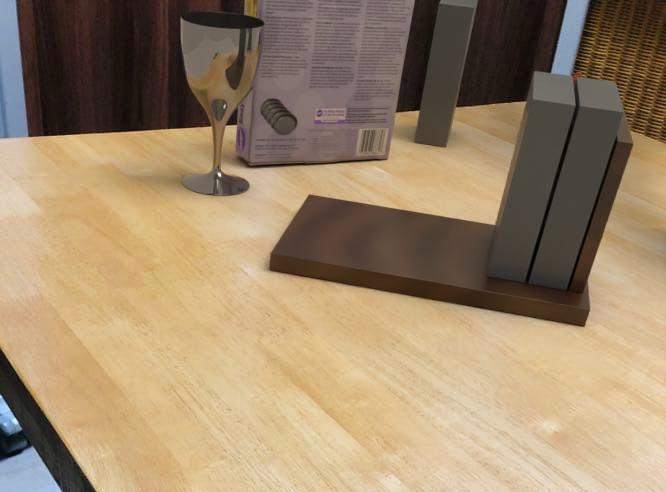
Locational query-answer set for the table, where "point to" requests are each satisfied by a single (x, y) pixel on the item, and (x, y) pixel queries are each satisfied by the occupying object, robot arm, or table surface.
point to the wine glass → (220, 80)
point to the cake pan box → (324, 80)
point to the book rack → (437, 251)
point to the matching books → (554, 178)
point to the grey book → (445, 71)
